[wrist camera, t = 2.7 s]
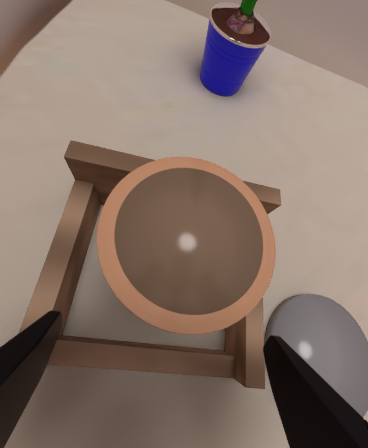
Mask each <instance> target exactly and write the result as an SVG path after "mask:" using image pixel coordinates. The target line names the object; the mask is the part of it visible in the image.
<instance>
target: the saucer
mask: <svg viewBox="0 0 368 448" xmlns="http://www.w3.org/2000/svg"><path fill="white" fill-rule="evenodd" d="M270 335H276V336H280V337H281V338H282V339H283V340H284V341H285V342H286V343H287V344H288V345H289V346H290V347H291V348H292V349H293V350H294V351H295V352H296V353H298V354H299V355H300V356H301V357H302V358H303V359H304V360H305V361H306V362H307V363H308V364H309V365H310V366H311V367H312V368H313V369H314V370H315V371H316V372H317V373H318V374H319V375H320V376H321V377H322V378H323V379H324V380H325V381H326V382H327V383H328V384H329V385H330V386H331V387H332V388H333V389H334V390H335V391H336V392H337V393H338V394H339V395H340V396H341V397H342V398H343V399H345V400H346V401H347V402H348V403H349V404H350V405H351V406H352V407H353V408H354V409H355V410H356V411H357V412H358V413H359V414H360V415H361V416H362V417H364V415H365V414H366V412H367V410H368V342H367V340H366V337H365V335H364V333H363V331H362V330H361V328H360V326H359V325H358V323H357V322H356V320H355V319H354V318H353V317H352V316H351V314H350V313H349V312H348V311H347V310H346V309H345V308H343V307H342V306H341V305H340V304H338V303H337V302H335V301H333V300H331V299H329V298H327V297H324V296H320V295H297V296H293V297H290V298H288V299H286V300H285V301H283V302H282V303H281V304H280V305H279V306H278V307H277V308H276V309H275V311H274V312H273V314H272V315H271V318H270V320H269V322H268V325H267V329H266V333H265V342H264V344H265V343H266V341H267V339H268V338H269V336H270Z"/></svg>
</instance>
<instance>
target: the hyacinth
mask: <svg viewBox="0 0 368 448" xmlns="http://www.w3.org/2000/svg"><path fill="white" fill-rule="evenodd" d="M256 1H257V0H242V3H241V5H238V4H234V3H226V2H225V3H219V4H216V5H215V6H213V8H212V9H211V11H210V19H209V25H208V31H207V37H206V43H205V49H204V55H203V61H202V67H201V73H200V78H201V81H202V83H203V85H204V86H205V87H206V88H207V89H208V90H210V91H211V92H213V93H215V94H218V95H221V96H231V95H233V94H235V93H236V92H237V91H238V89H239V88H240V86H241V85H242V83H243V81H244V80H245V78H246V77H247V75H248V74H249V72H250V70H251V69H252V67H253V65H254V64H255V62H256V61H257V59H258V58H259V56H260V54H261V53H262V51H263V50H264V48H265V47H266V45H267V44H268V43H269V42H270V40H271V30H270V28H269V26H268V25H267V23H266V22H265V21H264V20H263V18H262V17H260V16H259V15H258V14H257V13H255V12H254V11H253V9H254V6H255V4H256Z"/></svg>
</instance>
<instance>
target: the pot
mask: <svg viewBox="0 0 368 448" xmlns="http://www.w3.org/2000/svg"><path fill="white" fill-rule="evenodd" d="M97 249H98V257H99V261H100V264H101V268H102V271H103V273H104V275H105V278H106V280H107V282H108V284H109V286H110V287H111V289H112V290H113V292H114V293H115V295H116V296H117V297H118V298H119V300H120V301H121V302H122V303H123V304H124V305H125V306H126V307H127V308H128V309H129V310H130V311H131V312H133V313H134V314H135V315H136V316H138V317H139V318H141V319H142V320H144V321H146V322H147V323H149V324H151V325H153V326H156V327H158V328H160V329H163V330H167V331H170V332H174V333H181V334H205V333H210V332H215V331H218V330H221V329H224V328H227V327H229V326H231V325H232V324H234V323H236V322H238V321H239V320H241V319H242V318H243V317H245V316H246V315H248V314H249V313H250V312H251V311H252V310H253V309H254V308H255V306H256V305H257V304H258V303H259V301H260V300H261V299H262V297H263V296H264V294H265V292H266V290H267V288H268V286H269V283H270V281H271V278H272V275H273V270H274V266H275V255H276V253H275V239H274V233H273V229H272V226H271V222H270V220H269V217H268V215H267V213H266V211H265V209H264V207H263V205H262V204H261V202H260V201H259V199H258V198H257V196H256V195H255V194H254V193H253V191H252V190H251V189H250V188H249V187H248V186H247V185H246V184H245V183H244V182H243V181H242V180H241V179H239V178H238V177H237V176H236V175H234V174H233V173H231V172H229V171H228V170H226V169H224V168H222V167H220V166H218V165H216V164H213V163H211V162H208V161H205V160H201V159H196V158H189V157H171V158H164V159H159V160H155V161H152V162H149V163H147V164H145V165H142V166H140V167H138V168H137V169H135V170H134V171H132V172H130V173H129V174H128V175H127V176H126V177H124V178H123V179H122V180H121V181H120V182H119V183H118V184H117V185H116V187H115V188H114V189H113V190H112V192H111V193H110V195H109V196H108V198H107V200H106V202H105V204H104V206H103V208H102V212H101V215H100V218H99V223H98V229H97Z"/></svg>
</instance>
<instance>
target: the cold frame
mask: <svg viewBox="0 0 368 448" xmlns="http://www.w3.org/2000/svg"><path fill="white" fill-rule="evenodd" d="M64 158H65V160H66V162H67V164H68V166H69V168H70V170H71V172H72V174H73V176H74V178H75V182H74V185H73V187H72V190H71V193H70V195H69V198H68V201H67V204H66V206H65V209H64V212H63V214H62V217H61V220H60V223H59V225H58V228H57V231H56V233H55V236H54V239H53V242H52V244H51V247H50V250H49V252H48V255H47V258H46V261H45V263H44V266H43V269H42V271H41V274H40V277H39V280H38V282H37V285H36V288H35V290H34V293H33V296H32V299H31V301H30V304H29V307H28V309H27V312H26V315H25V318H24V320H23V323H22V326H21V328H20V331H19V333H20V332H22V331H23V330H24V329H26V328H27V327H28V326H30V325H31V324H32V323H34V322H35V321H36V320H38V319H39V318H40V317H42V316H43V315H44V314H46V313H47V312H49V311H51V310H54V311H61V312H62V329H61V332H60V334H59V337H58V339H57V342H56V344H55V346H54V349H53V351H52V354H51V356H50V358H49V361H48V363H47V364H53V365H67V366H80V367H93V368H106V369H120V370H133V371H146V372H159V373H173V374H186V375H199V376H212V377H226V378H234V379H235V380H237V381H238V382H239V383H241V384H242V385H243V386H244V387H246V388H260V389H265V369H264V354H263V346H264V324H263V297H262V299H261V300H260V301H259V303H258V304H257V305H256V306H255V308H254V309H253V310H252V311H251V312H250V313H249V314H248V315H246V316H245V317H243V318H242V319H241V320H239V321H238V322H236V323H234V324H232V325H231V326H229V327H227V328H226V329H225V351H218V350H208V349H198V348H187V347H177V346H167V345H156V344H146V343H135V342H125V341H115V340H104V339H94V338H84V337H73V336H63V335H62V333H63V330H64V327H65V323H66V320H67V316H68V313H69V310H70V306H71V303H72V300H73V296H74V293H75V290H76V286H77V283H78V280H79V276H80V273H81V270H82V266H83V263H84V260H85V256H86V253H87V249H88V246H89V243H90V239H91V236H92V233H93V229H94V226H95V223H96V219H97V216H98V213H99V209H100V206H101V204H105V202H106V200H107V198H108V196H109V195H110V193H111V192H112V190H113V189H114V188H115V187H116V185H117V184H118V183H119V182H120V181H121V180H122V179H123V178H124V177H126V176H127V175H128V174H129V173H130V172H132V171H134V170H135V169H137V168H138V167H140V166H142V165H145V164H147V163H149V162H152V161H155V160H152V159H148V158H144V157H140V156H135V155H131V154H127V153H123V152H118V151H114V150H110V149H106V148H101V147H97V146H93V145H89V144H84V143H80V142H76V141H72V140H71V141H70V143H69V146H68V148H67V151H66V153H65V155H64ZM243 182H244V183H245V184H246V185H247V186H248V187H249V188H250V189H251V190H252V191H253V193H254V194H255V195H256V196H257V198H258V199H259V201H260V202H261V204H262V205H263V207H264V209H265V211H266V213H267V214H268V213H270V212H271V211H273V210H274V209H276V208H277V207H279V206H281V196H280V189H275V188H271V187H267V186H263V185H258V184H254V183H250V182H246V181H243Z"/></svg>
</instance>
